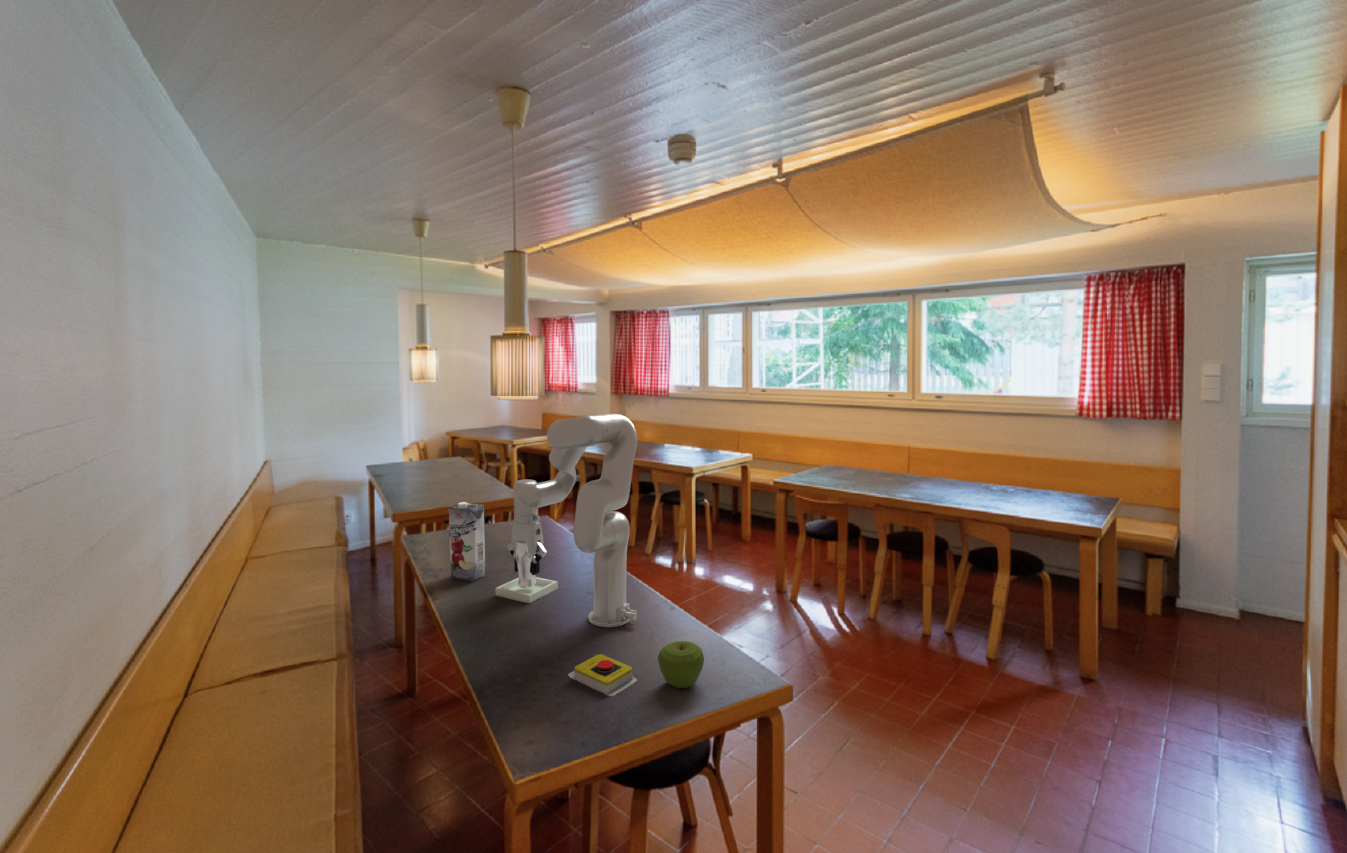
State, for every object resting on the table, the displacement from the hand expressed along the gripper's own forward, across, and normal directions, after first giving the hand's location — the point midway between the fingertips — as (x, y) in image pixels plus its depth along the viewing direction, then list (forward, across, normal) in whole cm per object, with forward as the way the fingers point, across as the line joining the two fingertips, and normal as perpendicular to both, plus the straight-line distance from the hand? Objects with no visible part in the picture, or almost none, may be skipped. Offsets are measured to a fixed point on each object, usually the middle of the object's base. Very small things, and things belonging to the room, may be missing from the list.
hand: (527, 571), depth 191 cm
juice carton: (+7, +27, -1) cm, 28 cm away
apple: (+7, -69, +28) cm, 75 cm away
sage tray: (+7, 0, 0) cm, 7 cm away
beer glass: (+5, 0, 0) cm, 5 cm away
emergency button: (+8, -51, +34) cm, 62 cm away
